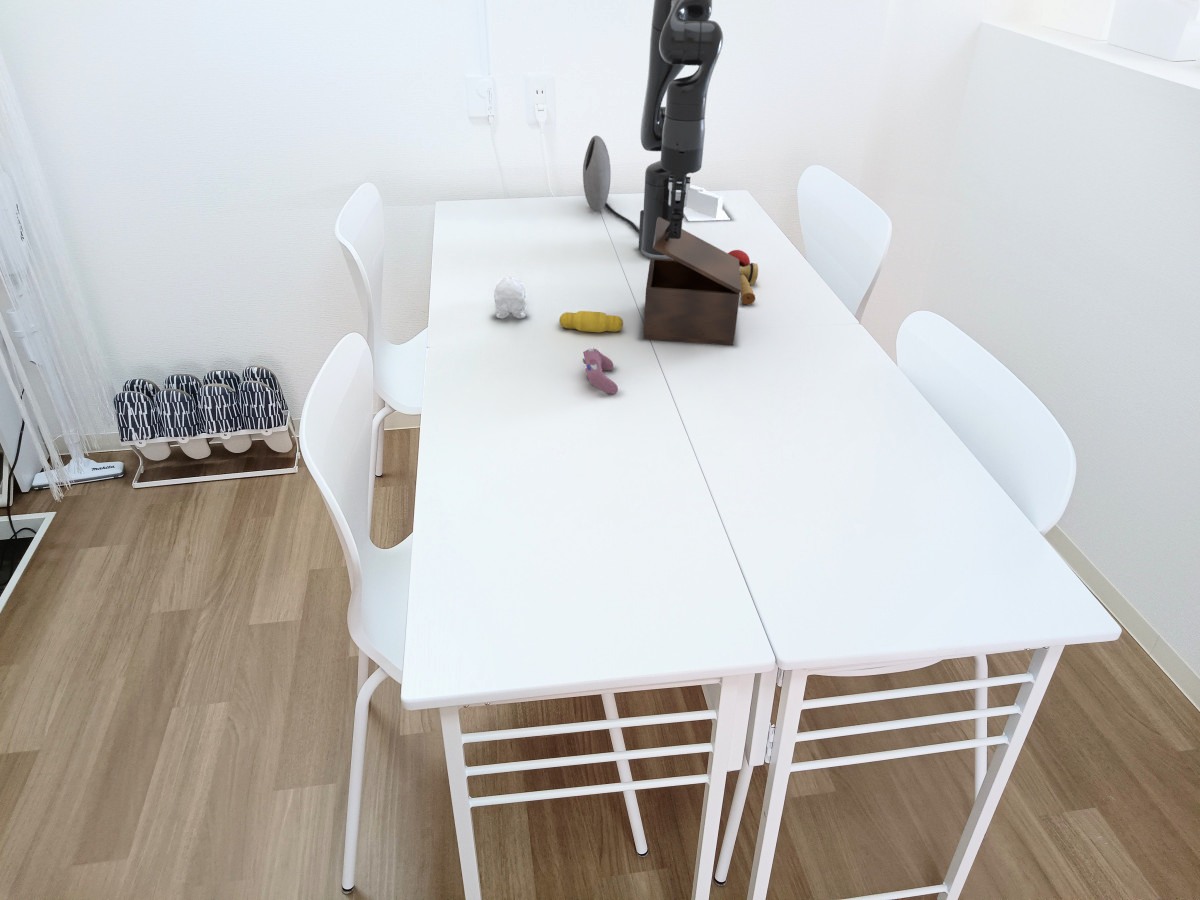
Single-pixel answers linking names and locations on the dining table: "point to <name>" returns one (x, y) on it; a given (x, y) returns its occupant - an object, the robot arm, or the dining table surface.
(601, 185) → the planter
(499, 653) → the dining table surface
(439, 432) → the dining table surface
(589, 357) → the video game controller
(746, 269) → the kendama
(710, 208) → the napkin holder
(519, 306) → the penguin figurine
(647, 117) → the robot arm
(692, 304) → the toy chest
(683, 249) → the lid
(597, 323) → the yellow lobed rod
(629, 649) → the dining table surface
